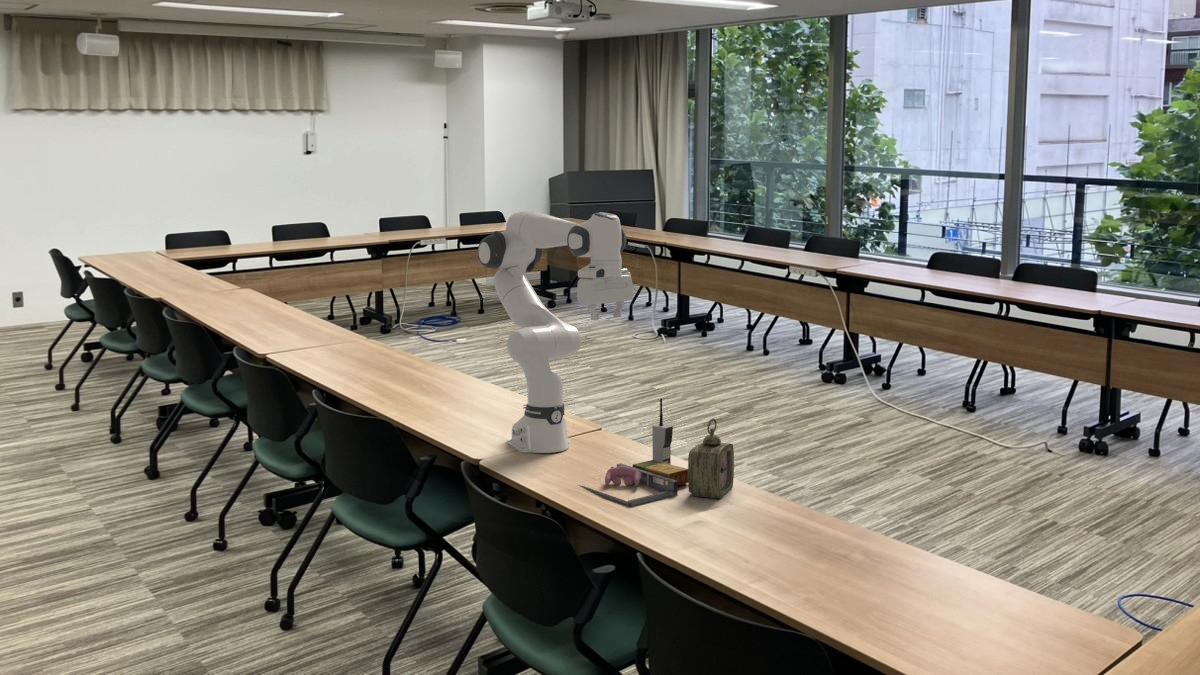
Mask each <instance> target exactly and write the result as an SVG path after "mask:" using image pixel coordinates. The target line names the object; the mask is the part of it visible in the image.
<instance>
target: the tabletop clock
mask: <svg viewBox="0 0 1200 675" xmlns="http://www.w3.org/2000/svg"><path fill="white" fill-rule="evenodd" d="M712 422H714V428H710V427H711V426H710V425H711V423H712ZM716 430H717V420H716V419H715V418H711V419H710V420H709V421H708V423H707V433H708V435H706V436H705V437H704V438H703V440H702V443H699V444H697V445H695V446H694V447H692V448H691V449H690V450H689V452H688V456H687V457H688V459H687V460H688V461H687V469H688V483H687V486H688V492H689V493H690V494H691V495H692V496H694V497H700V498H701V497H702V498H708V499H709V498H711V499H717V500H722V499H723V498H724V497H726V496H727V494H729V492H731V491H732V490H733V487H734V476H735V474H734V473H735V472H734V471H735V453H734V452H735V451H734V445H733V443H730V442H729V443H728V442H727V443H726V442H722V441H721V440H722V439H721V438H720V436H719V435H716V434H715V432H716Z"/></svg>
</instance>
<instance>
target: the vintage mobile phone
mask: <svg viewBox="0 0 1200 675" xmlns="http://www.w3.org/2000/svg"><path fill="white" fill-rule="evenodd" d="M659 405H660V406H659V424H656V425H652V428H651V429H652V430H651V432H652V435H651V436H652V460H654V461H658V462H662V463H666V464H670V465H672V464H671V463H672V462H671V461H672V460H671V458H672V457H671V450H672V449H671V448H672V447H671V446H672V442H673V434H674V433H673V432H674V431H673V430H674V426H673V425H671V424H670V425H668V424H664V423H663V422H664V420H663V417H664V416H663V398H660V399H659Z"/></svg>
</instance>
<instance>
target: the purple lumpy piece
mask: <svg viewBox="0 0 1200 675" xmlns="http://www.w3.org/2000/svg"><path fill="white" fill-rule="evenodd" d="M628 466H629V465H628ZM628 466H618V467H617V466H616V467H615V466H610V467H609V468H608V469H607V471H606V473H605V477H604V484H605V485H606V486H609V485H610V483H611V482H612V483H613V485H614V486H616V487H618V486H620V485H621V484H622V480H621V478H624V480H623V483H624V485H625V486H626V487H631V486H632V485H633V483H634V486H636V487H637V486H639V484H640V483H639V480H640V474H639V472H638V471H637V470H636V469H635V467H632V466H631V467H632V468H630V467H628Z"/></svg>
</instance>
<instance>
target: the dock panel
mask: <svg viewBox="0 0 1200 675" xmlns="http://www.w3.org/2000/svg"><path fill="white" fill-rule="evenodd" d="M618 466H628V467H630V468H632V466H630V465H628V464H625V463H621V462H620V463H616V467H618ZM635 469H636V470H637V471H638V472H639V474H640V480H639V484H640V485H641V484H642V485H644V486H646V487H647V488H650V489H653V490H654V491H657V493H653V494H650V495H645V496H641V497H638V498H637V497H636V498H632V499H629V500H624V499H622V498H619V497H616V496H613V495H611V494H607V493H604V492H601V491H599V490H596V489H593V488H590V487H588V486H584V485H582V487H581V488H583V487H584V489H585V488H586V489H585V490H587V489H588V490H587V491H589V490H590V491H589V492H591V491H592V492H591V493H594V494H596V495H598V496H600V497H602V498H605V499H608V500H609V501H613V502H615V503H618V504H621V505H624V506H627V507H630V508H632V507H636V506H639V505H644V504H647V503H651V502H656V501H659V500H660V501H661V500H664V499H667V498H671V497H675V496H678V490H679V489H678V486H679V485H678V481H676V480H673V479H670V478H666V477H663V476H660V475H657V474H653V473H650V472H647V471H644V470H640V469H637V468H635Z"/></svg>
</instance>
